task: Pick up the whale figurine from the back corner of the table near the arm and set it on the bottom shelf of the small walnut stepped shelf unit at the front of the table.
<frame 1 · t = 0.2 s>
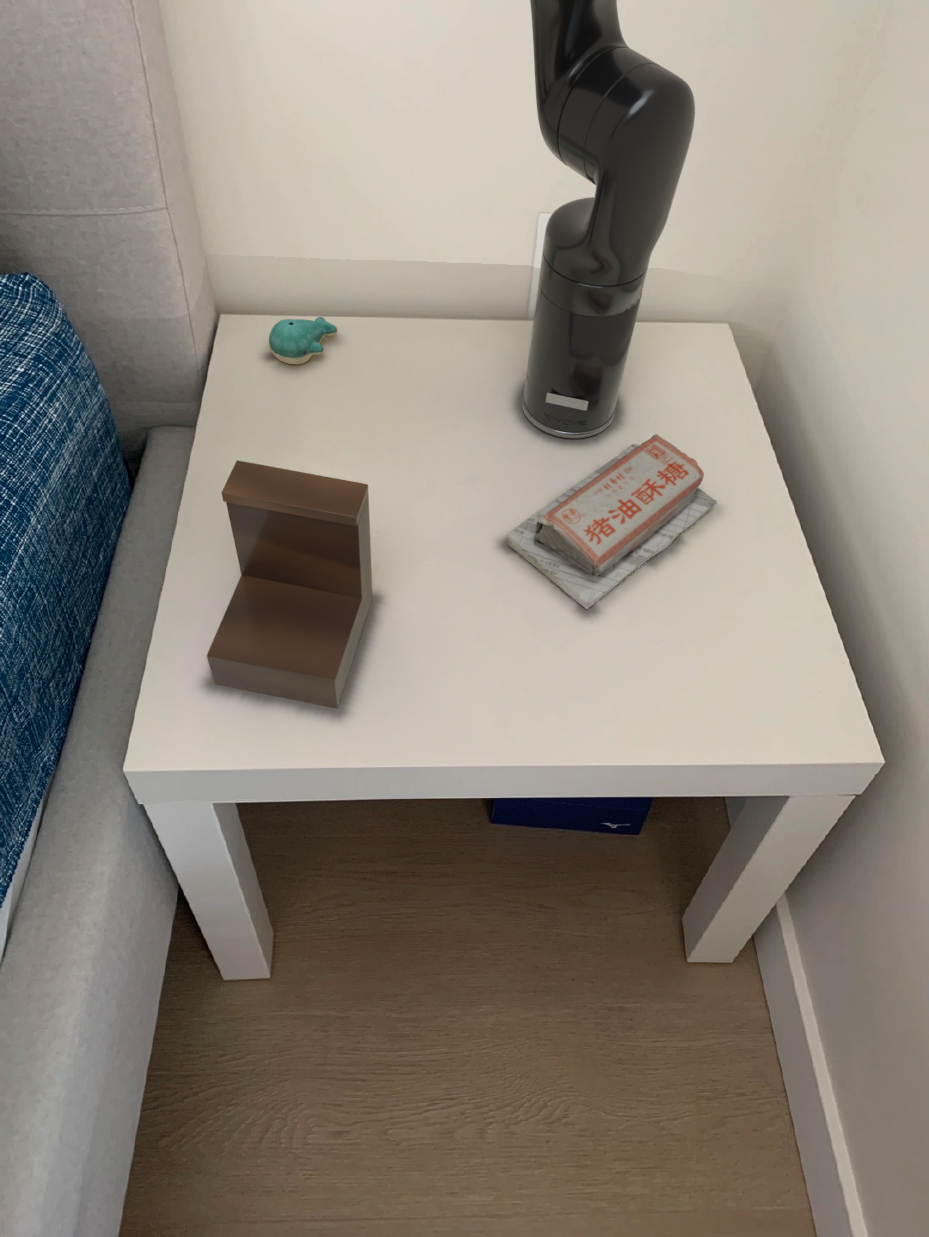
packaged product: (610, 529, 89), on the table
shelf: (275, 696, 77), on the table
whale figurine: (304, 349, 101), on the table
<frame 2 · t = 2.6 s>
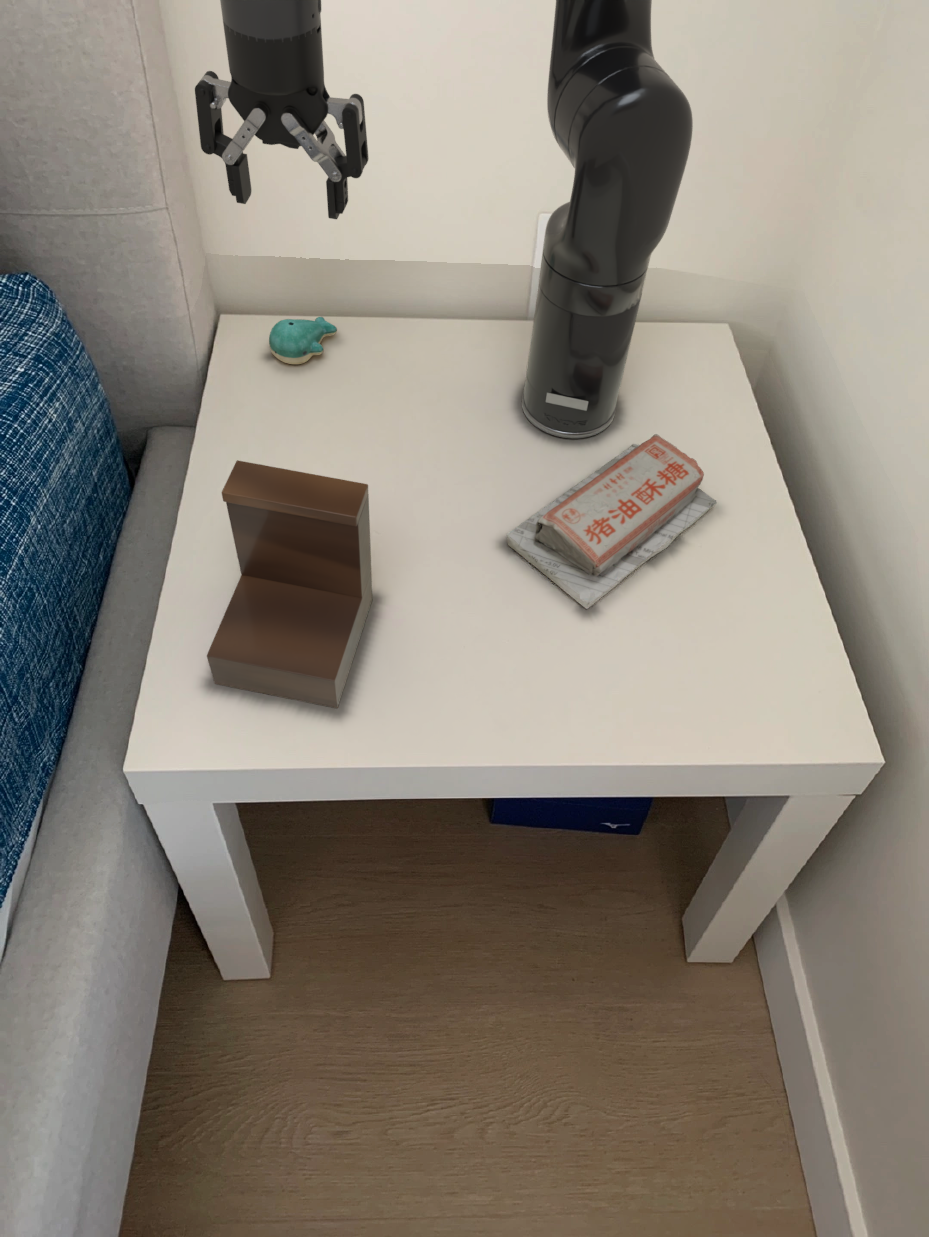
hand: (290, 206, 88), 16 cm above the table, tool pointing down, fingers open, 8 cm apart
nothing on the table moved.
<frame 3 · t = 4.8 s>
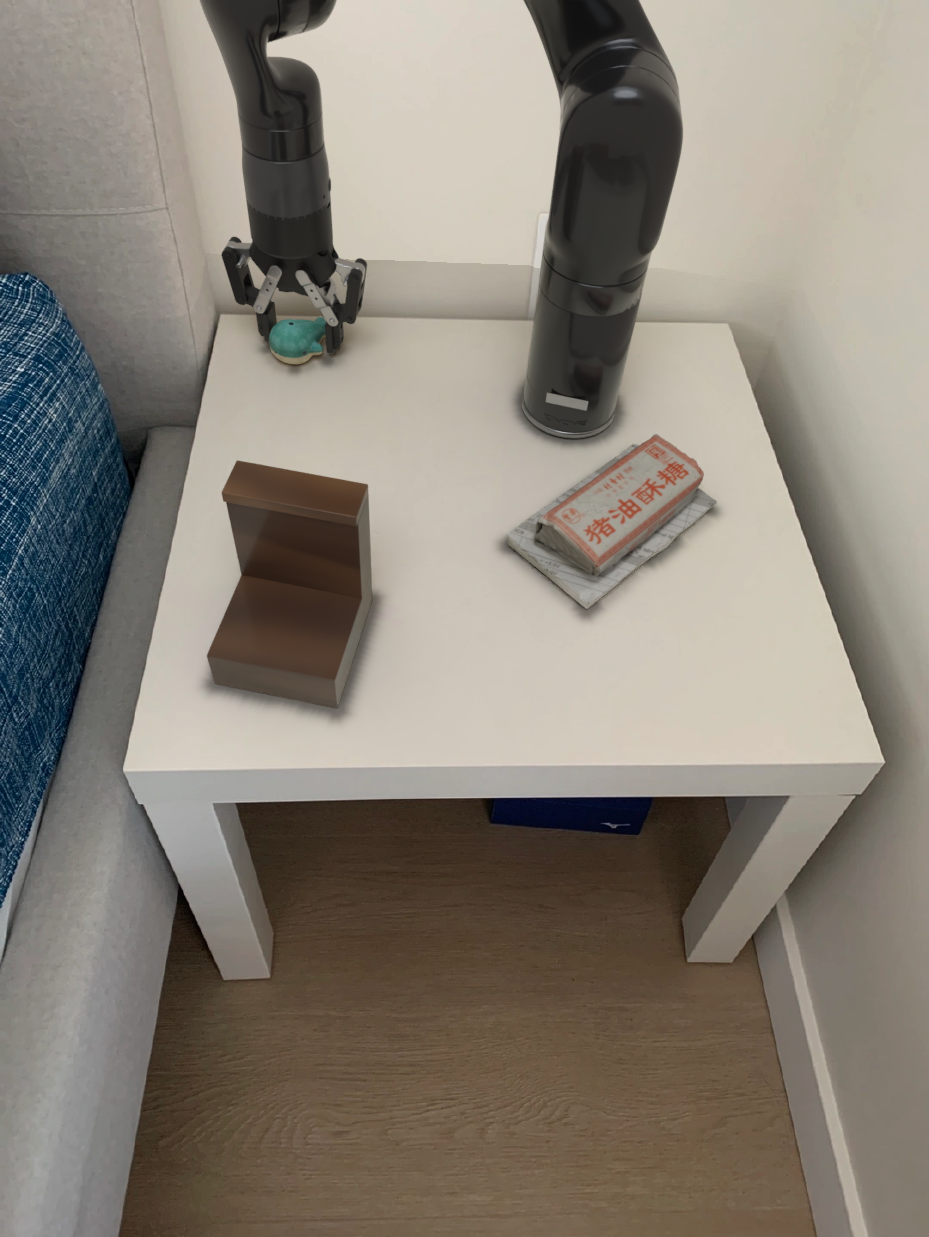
hand: (302, 343, 101), 1 cm above the table, tool pointing down, fingers closed on whale figurine, 6 cm apart
whale figurine: (304, 349, 101), on the table, touching gripper
everything else where it was.
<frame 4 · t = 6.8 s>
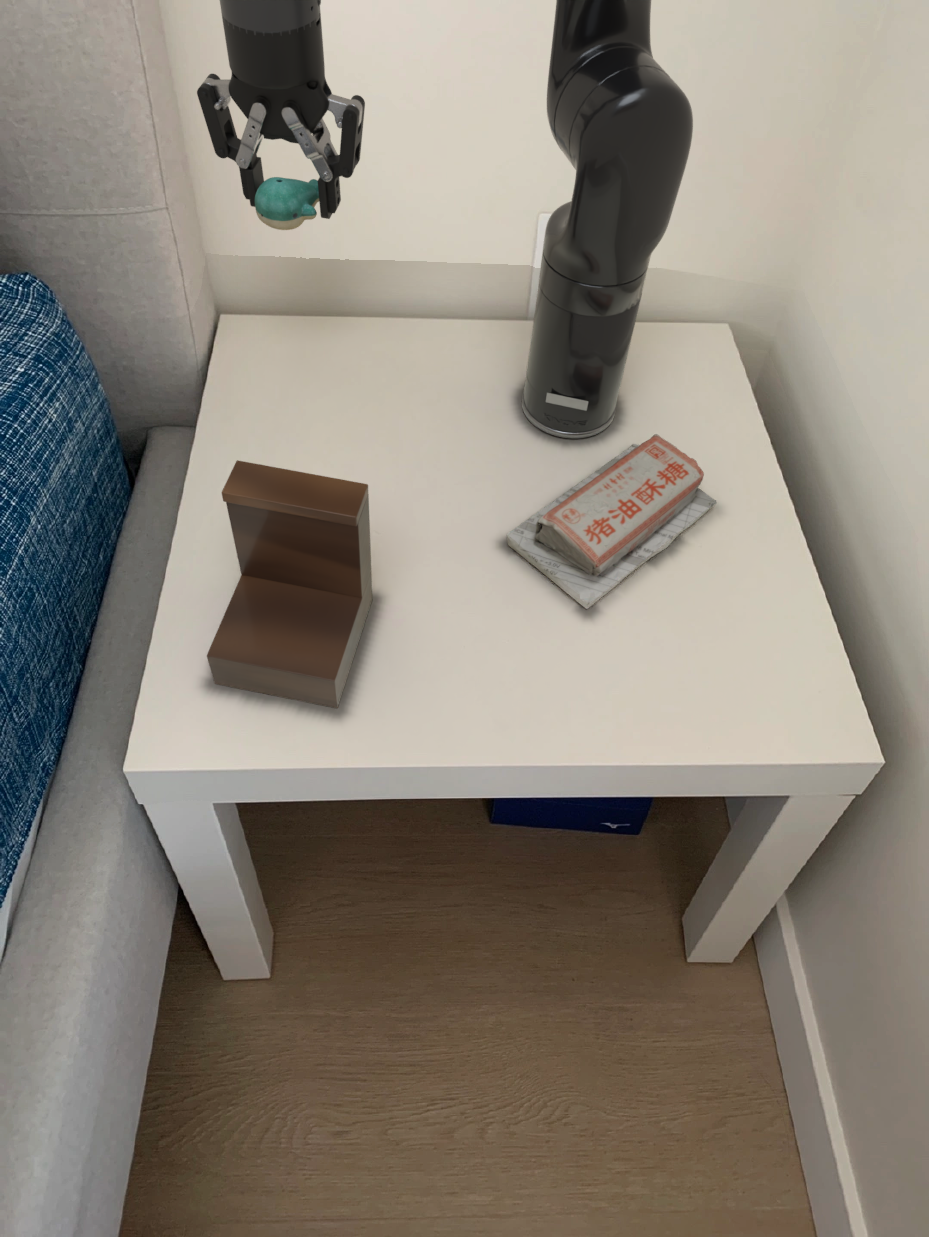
hand: (293, 207, 88), 16 cm above the table, tool pointing down, fingers closed on whale figurine, 6 cm apart
whale figurine: (295, 216, 89), point 15 cm above the table, touching gripper
everything else where it was.
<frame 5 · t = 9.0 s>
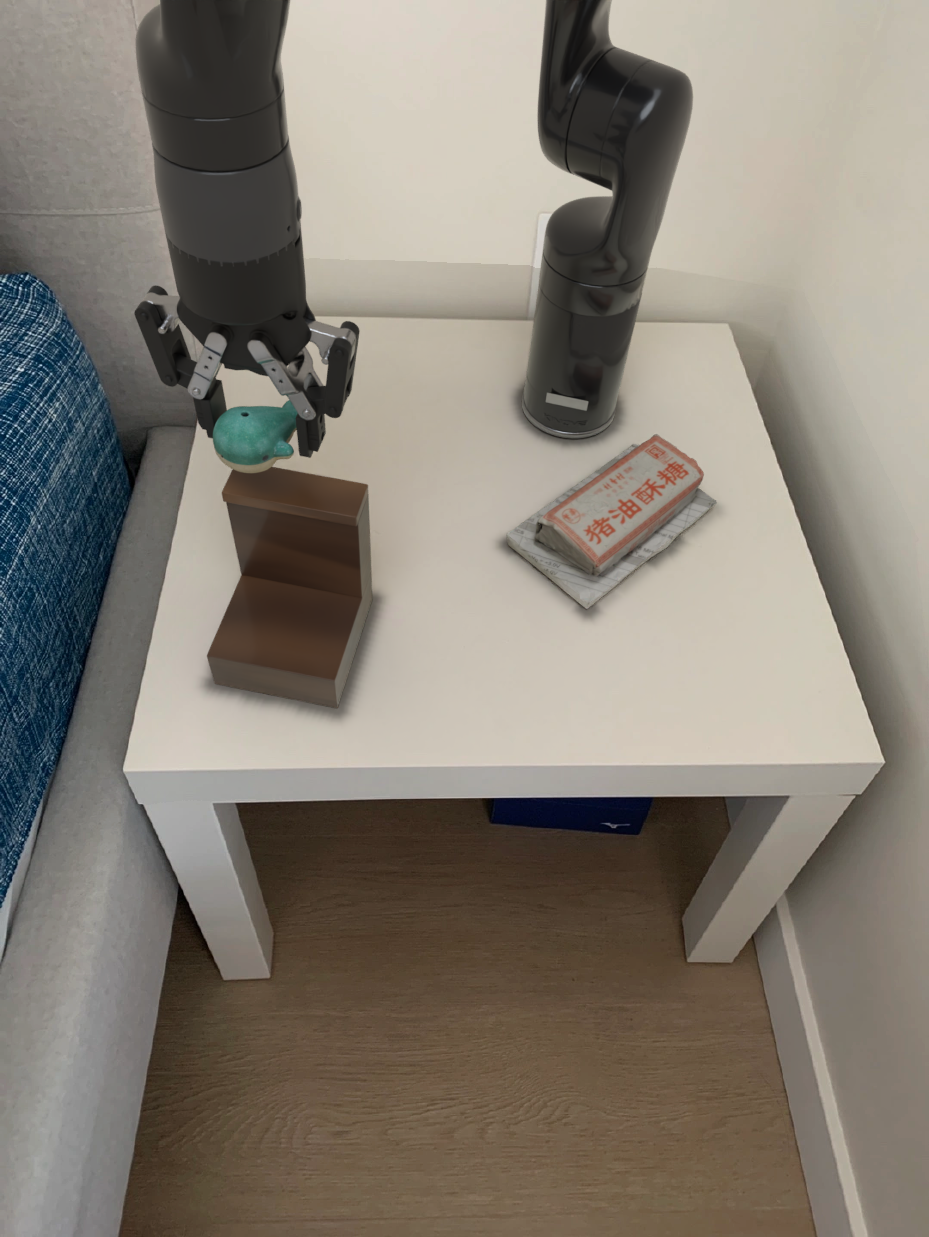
hand: (264, 439, 68), 18 cm above the table, tool pointing down, fingers closed on whale figurine, 6 cm apart
whale figurine: (267, 448, 69), point 17 cm above the table, touching gripper
everything else where it was.
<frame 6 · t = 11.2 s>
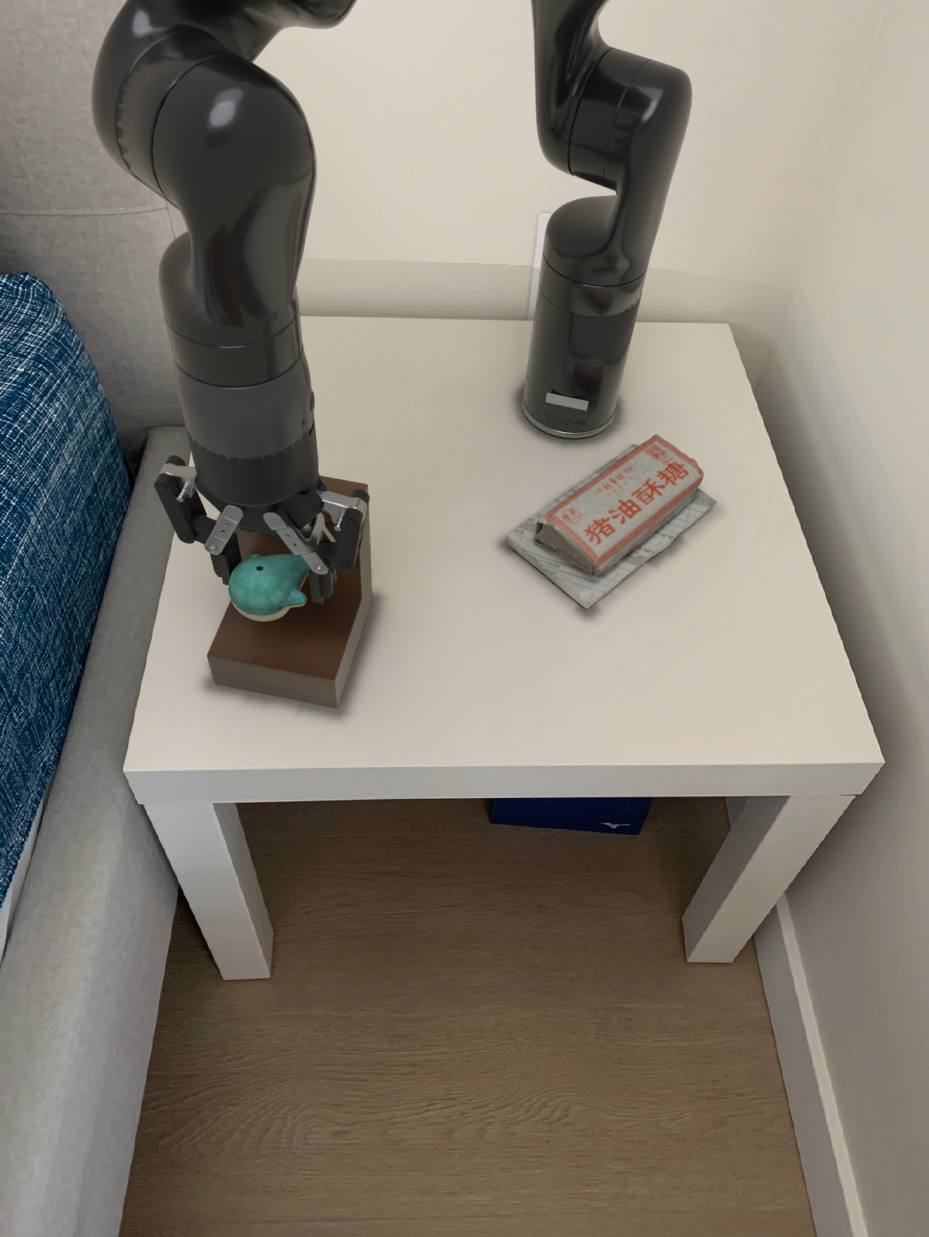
hand: (277, 584, 71), 10 cm above the table, tool pointing down, fingers closed on whale figurine, 6 cm apart
whale figurine: (280, 592, 71), point 9 cm above the table, touching gripper
everything else where it was.
when the fingers open (5 cm above the table, at t = 13.1 s): whale figurine stays where it is, resting on shelf.
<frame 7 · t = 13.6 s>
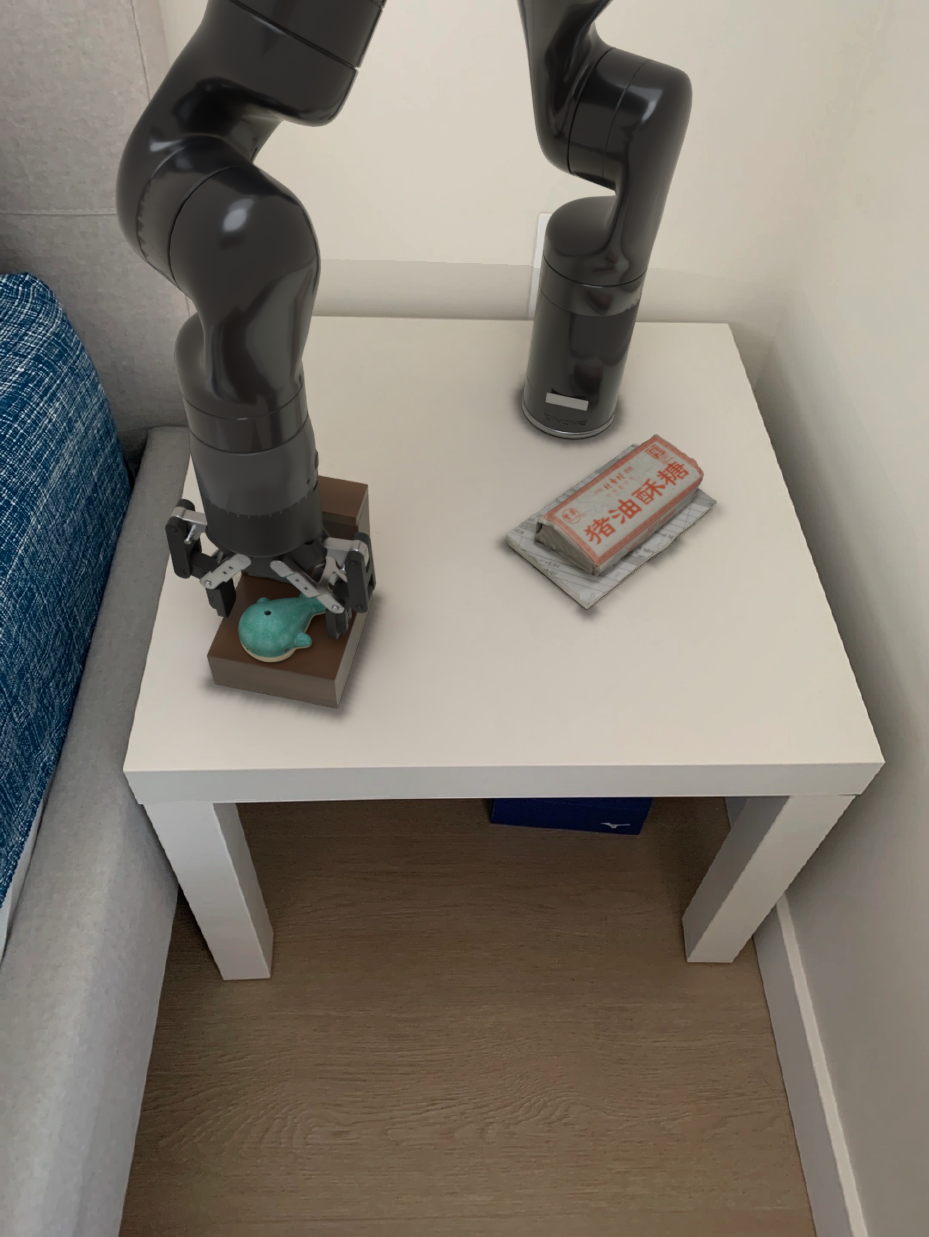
hand: (282, 618, 74), 6 cm above the table, tool pointing down, fingers open, 8 cm apart
whale figurine: (286, 633, 75), point 4 cm above the table, touching shelf
everything else where it was.
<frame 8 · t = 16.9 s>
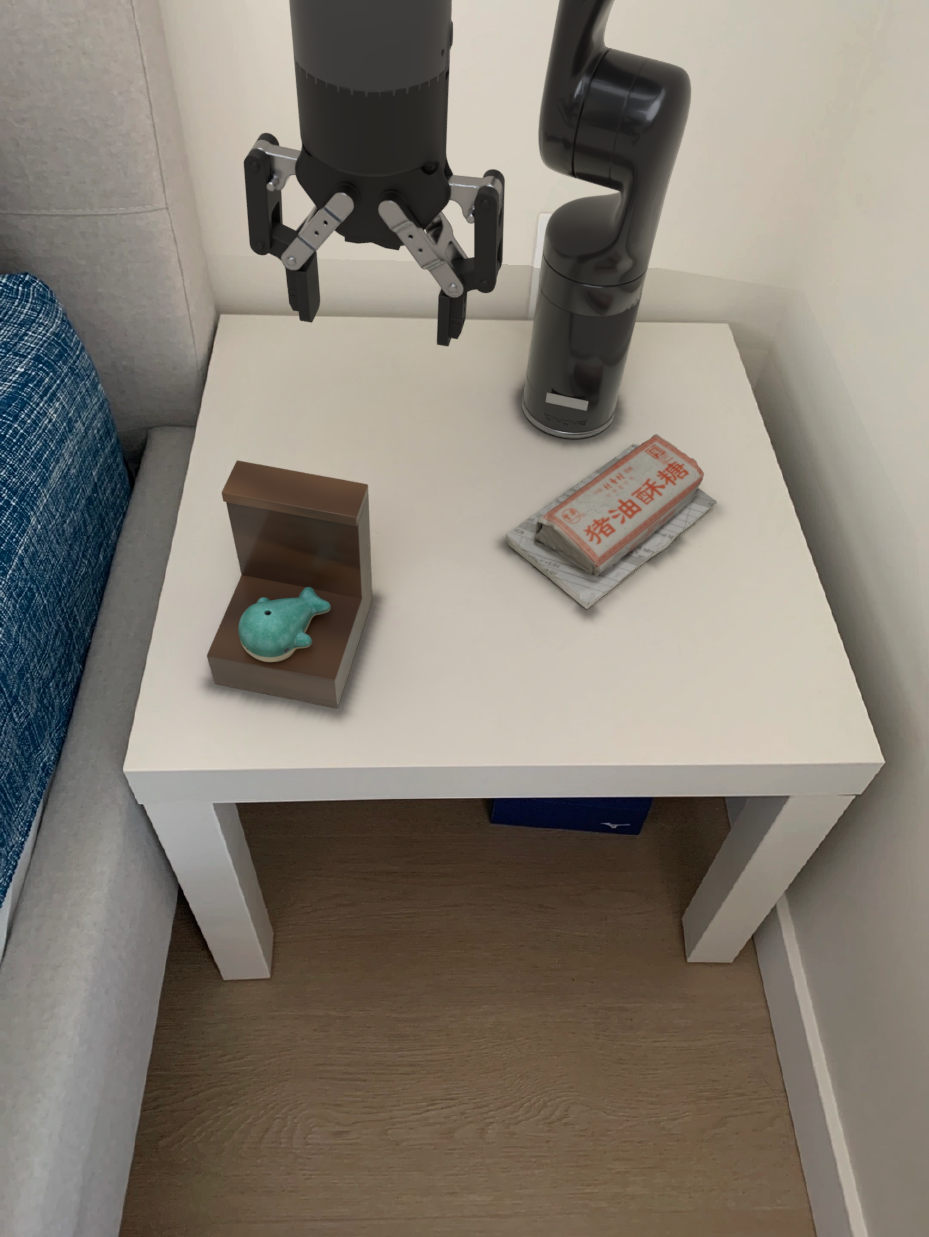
hand: (378, 326, 60), 28 cm above the table, tool pointing down, fingers open, 8 cm apart
nothing on the table moved.
at the end: whale figurine inside the target area on the shelf (0.3 cm from its centre), point 3.8 cm above the shelf's base; the gripper is holding nothing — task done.
